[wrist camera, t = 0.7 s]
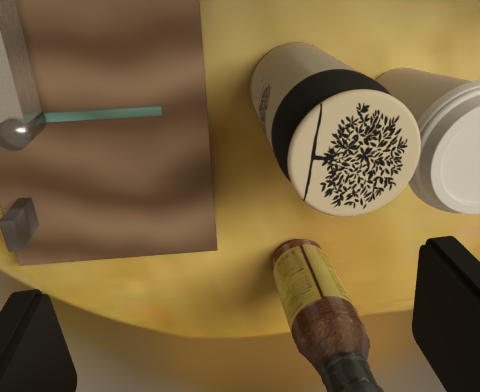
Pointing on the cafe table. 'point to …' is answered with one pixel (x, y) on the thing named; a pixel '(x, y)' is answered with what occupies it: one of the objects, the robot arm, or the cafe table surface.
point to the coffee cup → (442, 136)
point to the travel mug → (334, 130)
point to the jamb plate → (112, 134)
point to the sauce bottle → (323, 317)
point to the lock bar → (16, 84)
